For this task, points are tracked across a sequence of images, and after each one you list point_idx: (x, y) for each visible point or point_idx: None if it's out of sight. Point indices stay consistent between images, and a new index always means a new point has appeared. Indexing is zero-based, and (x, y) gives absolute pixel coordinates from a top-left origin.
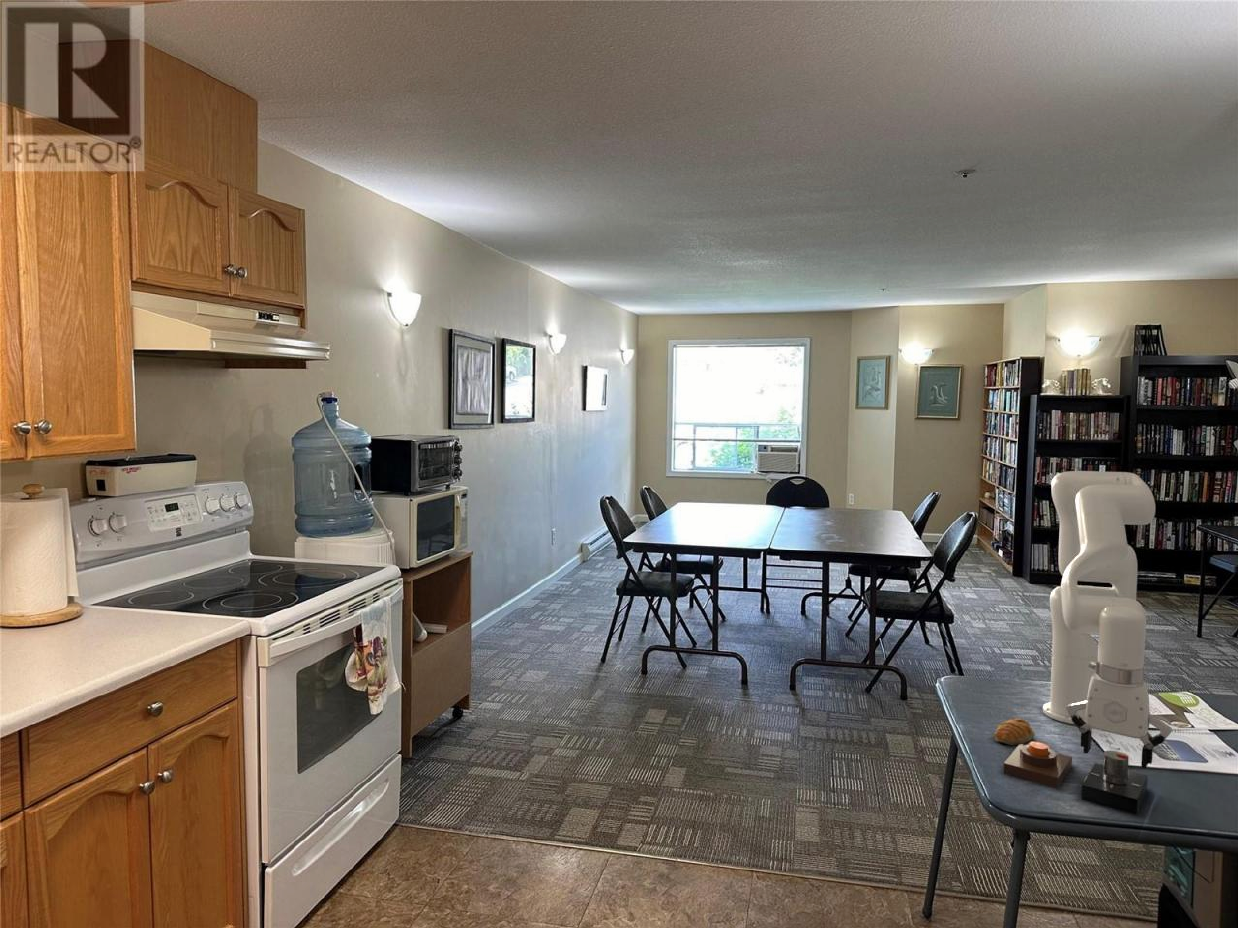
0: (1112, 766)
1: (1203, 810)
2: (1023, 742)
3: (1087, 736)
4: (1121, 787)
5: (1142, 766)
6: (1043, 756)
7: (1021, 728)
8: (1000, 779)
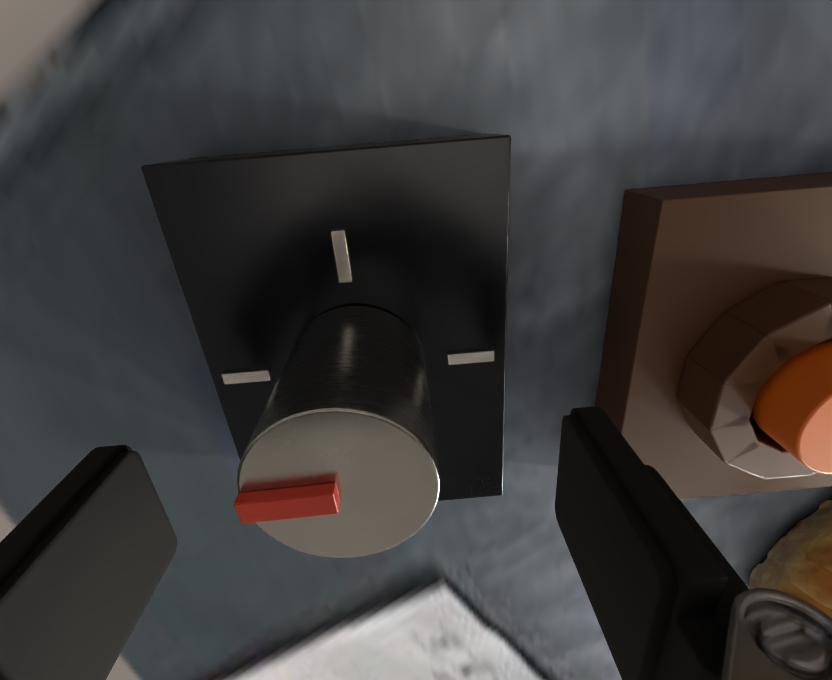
0: (347, 363)
1: (41, 438)
2: (789, 536)
3: (664, 557)
4: (294, 288)
5: (116, 450)
6: (796, 347)
7: None
8: None
